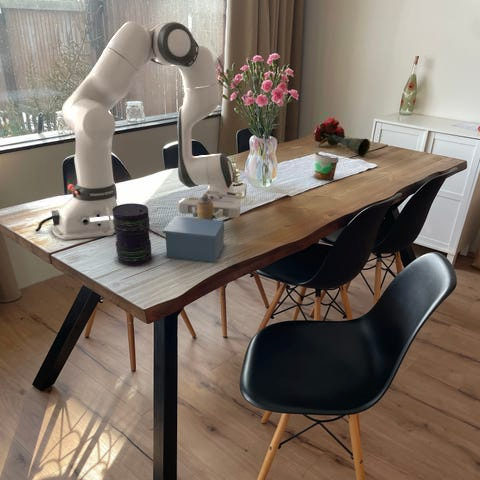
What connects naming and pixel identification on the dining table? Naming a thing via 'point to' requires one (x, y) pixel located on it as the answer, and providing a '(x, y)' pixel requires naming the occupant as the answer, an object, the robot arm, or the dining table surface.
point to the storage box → (195, 247)
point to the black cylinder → (132, 234)
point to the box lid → (194, 227)
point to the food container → (324, 167)
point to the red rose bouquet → (340, 137)
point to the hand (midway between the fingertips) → (204, 215)
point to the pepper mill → (205, 208)
